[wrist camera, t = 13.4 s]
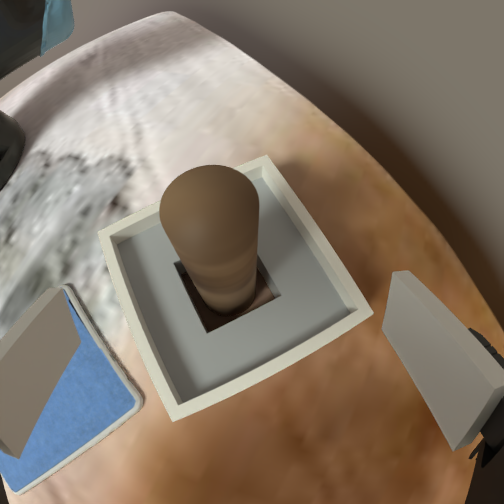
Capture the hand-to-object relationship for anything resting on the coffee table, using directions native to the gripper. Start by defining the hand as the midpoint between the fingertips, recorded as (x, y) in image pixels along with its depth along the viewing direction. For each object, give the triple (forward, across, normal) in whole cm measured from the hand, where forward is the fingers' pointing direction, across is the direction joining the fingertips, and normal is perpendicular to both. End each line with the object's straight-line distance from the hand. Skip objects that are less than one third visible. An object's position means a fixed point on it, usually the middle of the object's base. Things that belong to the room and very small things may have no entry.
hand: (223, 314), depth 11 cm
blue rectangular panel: (+4, -18, -12) cm, 22 cm away
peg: (+11, 0, -5) cm, 12 cm away
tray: (+11, 0, -5) cm, 12 cm away
